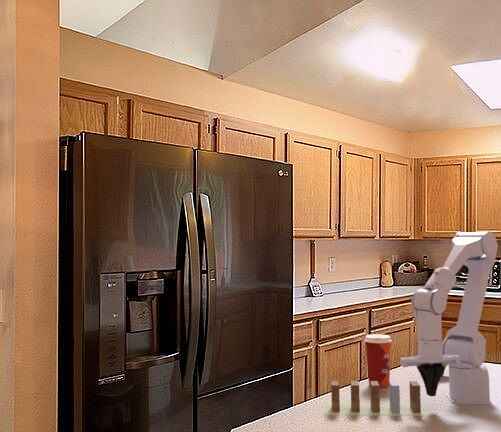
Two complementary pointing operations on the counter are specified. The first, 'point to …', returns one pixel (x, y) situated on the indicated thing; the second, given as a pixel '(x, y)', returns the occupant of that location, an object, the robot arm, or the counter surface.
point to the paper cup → (378, 358)
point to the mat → (366, 410)
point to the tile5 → (335, 396)
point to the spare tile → (394, 396)
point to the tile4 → (355, 396)
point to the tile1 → (415, 397)
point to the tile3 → (375, 396)
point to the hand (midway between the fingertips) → (431, 395)
